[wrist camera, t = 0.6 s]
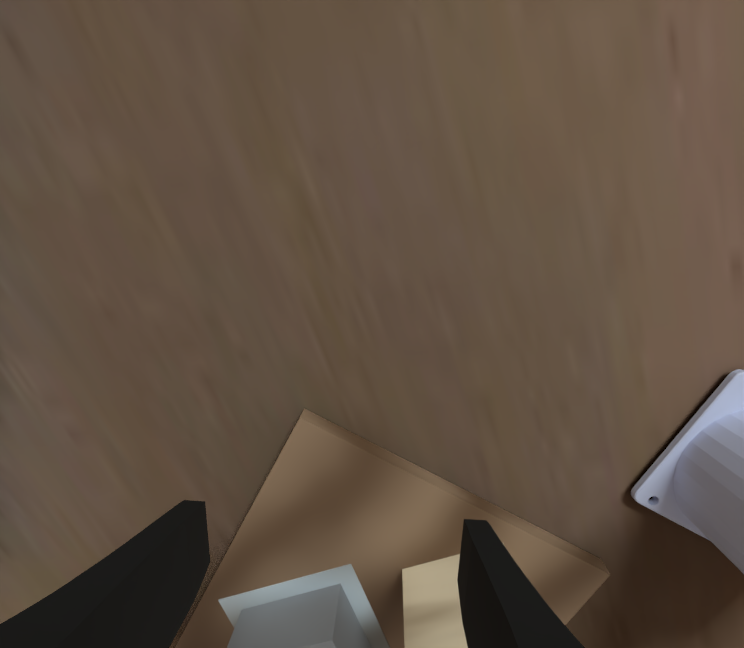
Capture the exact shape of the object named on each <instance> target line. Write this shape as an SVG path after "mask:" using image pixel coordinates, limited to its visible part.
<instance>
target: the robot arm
mask: <svg viewBox="0 0 744 648" xmlns="http://www.w3.org/2000/svg"><path fill="white" fill-rule="evenodd" d="M631 496H632V497H633V499H634V500H635V501H636V502H637V503H639V504H641V505H643V506H645V507H646V508H648V509H650V510H652V511H654V512H656V513H658V514H660V515H662V516H664V517H666V518H667V519H669V520H671V521H673V522H675V523H677V524H679V525H681V526H683V527H685V528H687V529H688V530H690V531H692V532H694V533H696V534H698V535H700V536H702V537H704V538H706V539H707V540H709V541H711V542H712V543H713V544H714V545H715V546H716V547H717V548H718V549H719V550H720V551H721V552H722V553H723V554H724V555H725V556H726V557H727V558H728V559H729V560H730V561H731V562H732V563H733V564H734V565H735V566H736V567H737V568H738V569H739V570H740V571H741V572H742V573H743V574H744V370H741V369H740V370H735V371H732V372H731V373H730V374H729V375H728V376H727V377H726V378H725V379H724V380H723V382H722V383H721V384H720V385H719V386H718V388H717V389H716V390H715V391H714V392H713V393H712V395H711V396H710V397H709V398H708V399H707V401H706V402H705V403H704V404H703V405H702V406H701V408H700V409H699V410H698V411H697V412H696V414H695V415H694V416H693V417H692V418H691V419H690V421H689V422H688V423H687V424H686V425H685V427H684V428H683V429H682V430H681V431H680V432H679V434H678V435H677V436H676V437H675V438H674V440H673V441H672V442H671V443H670V444H669V445H668V447H667V448H666V449H665V450H664V451H663V453H662V454H661V455H660V456H659V457H658V458H657V460H656V461H655V462H654V463H653V464H652V466H651V467H650V468H649V469H648V470H647V471H646V473H645V474H644V475H643V476H642V477H641V479H640V480H639V481H638V482H637V483H636V484H635V486H634V487H633V488H632V490H631ZM653 496H654V497H653ZM651 497H653V498H652V499H651V500H649V498H651ZM209 563H210V555H209V543H208V531H207V519H206V508H205V502H203V501H188V500H184V501H182V502H181V503H179V504H178V505H176V506H175V507H174V508H172V509H171V510H169V511H168V512H167V513H165V514H164V515H163V516H161V517H160V518H159V519H157V520H156V521H155V522H153V523H152V524H151V525H149V526H148V527H147V528H145V529H144V530H143V531H141V532H140V533H138V534H137V535H136V536H134V537H133V538H132V539H130V540H129V541H128V542H126V543H125V544H123V545H122V546H121V547H119V548H118V549H117V550H115V551H114V552H112V553H111V554H110V555H108V556H107V557H105V558H104V559H102V560H101V561H99V562H98V563H97V564H95V565H94V566H92V567H91V568H89V569H88V570H86V571H85V572H83V573H82V574H80V575H79V576H77V577H76V578H75V579H73V580H72V581H70V582H69V583H67V584H66V585H64V586H63V587H61V588H59V589H58V590H56V591H55V592H53V593H52V594H50V595H48V596H47V597H45V598H44V599H42V600H40V601H39V602H37V603H35V604H34V605H32V606H30V607H29V608H27V609H25V610H24V611H22V612H20V613H19V614H17V615H15V616H14V617H12V618H10V619H8V620H7V621H5V622H3V623H1V624H0V648H169V646H170V645H171V643H172V641H173V639H174V637H175V636H176V634H177V632H178V630H179V628H180V626H181V624H182V623H183V621H184V619H185V617H186V615H187V613H188V611H189V609H190V608H191V606H192V604H193V602H194V600H195V597H196V595H197V593H198V590H199V588H200V586H201V583H202V581H203V578H204V576H205V573H206V571H207V568H208V566H209ZM457 582H458V590H459V599H460V607H461V615H462V623H463V628H464V632H465V637H466V642H467V646H468V648H584V647H583V645H582V644H581V643H580V642H579V641H578V640H577V639H576V638H575V636H574V635H573V634H572V633H571V632H570V631H569V630H568V628H567V627H566V626H565V625H564V624H563V622H562V621H561V620H560V619H559V618H558V616H557V615H556V614H555V613H554V612H553V610H552V609H551V608H550V607H549V605H548V604H547V603H546V602H545V600H544V599H543V598H542V597H541V595H540V594H539V593H538V591H537V590H536V589H535V587H534V586H533V585H532V583H531V582H530V581H529V579H528V578H527V577H526V576H525V574H524V573H523V571H522V570H521V569H520V567H519V566H518V565H517V563H516V562H515V560H514V559H513V558H512V556H511V555H510V553H509V552H508V550H507V549H506V548H505V546H504V545H503V543H502V542H501V540H500V539H499V537H498V536H497V534H496V533H495V531H494V530H493V528H492V527H491V525H490V524H489V523H488V522H487V520H474V519H464V522H463V531H462V540H461V550H460V559H459V569H458V578H457Z"/></svg>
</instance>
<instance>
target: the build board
mask: <svg viewBox="0 0 744 648" xmlns="http://www.w3.org/2000/svg"><path fill="white" fill-rule="evenodd" d="M464 519H474V520H487V522H488V523H489V524H490V525H491V527H492V528H493V530H494V531H495V533H496V534H497V536H498V537H499V539H500V540H501V542H502V543H504V546H505V548H506V549H507V550H508V552H509V553H510V555H511V556H512V558H513V559H514V560H515V562H516V563H517V565H518V566H519V567H520V569H521V570H522V571H523V573H524V574H525V576H526V577H527V578H528V579H529V581H530V582H531V583H532V585H533V586H534V587H535V589H536V590H537V591H538V593H539V594H540V595H541V597H542V598H543V599H544V600H545V602H546V603H547V604H548V605H549V607H550V608H551V609H552V610H553V612H554V613H555V614H556V615H557V616H558V618H559V619H560V620H561V621H562V622H563V624H564V625H566V624H567V623H568V622H569V621H570V619H571V618H572V617H573V616H574V615H575V614H576V613H577V612H578V610H579V609H580V608H581V607H582V606H583V605H584V604H585V603H586V601H587V600H588V599H589V598H590V597H591V596H592V595H593V594H594V593H595V591H596V590H597V589H598V588H599V587H600V586H601V585H602V584H603V582H604V581H605V580H606V579H607V578H608V577H609V576H610V573H609V571H608V570H607V568H606V567H605V565H604V563H603V562H602V560H601V559H600V558H598V557H596V556H594V555H592V554H590V553H588V552H586V551H584V550H582V549H580V548H579V547H577V546H575V545H573V544H571V543H569V542H567V541H565V540H563V539H561V538H559V537H557V536H555V535H553V534H551V533H549V532H547V531H545V530H543V529H541V528H539V527H537V526H535V525H533V524H531V523H529V522H527V521H525V520H523V519H521V518H519V517H517V516H515V515H513V514H511V513H510V512H508V511H506V510H504V509H502V508H500V507H498V506H496V505H494V504H492V503H490V502H488V501H486V500H484V499H482V498H480V497H478V496H476V495H474V494H472V493H470V492H468V491H466V490H464V489H462V488H460V487H458V486H456V485H454V484H452V483H450V482H448V481H446V480H444V479H442V478H441V477H439V476H437V475H435V474H433V473H431V472H429V471H427V470H425V469H423V468H421V467H419V466H417V465H415V464H413V463H411V462H409V461H407V460H405V459H403V458H401V457H399V456H397V455H395V454H393V453H391V452H389V451H387V450H385V449H383V448H381V447H379V446H377V445H375V444H373V443H372V442H370V441H368V440H366V439H364V438H362V437H360V436H358V435H356V434H354V433H352V432H350V431H348V430H346V429H344V428H342V427H340V426H338V425H336V424H334V423H332V422H330V421H328V420H326V419H324V418H322V417H320V416H318V415H316V414H314V413H312V412H310V411H308V410H306V409H304V410H303V412H302V413H301V415H300V417H299V419H298V421H297V423H296V424H295V426H294V428H293V430H292V432H291V434H290V436H289V437H288V439H287V441H286V443H285V445H284V447H283V448H282V450H281V452H280V454H279V456H278V458H277V459H276V461H275V463H274V465H273V467H272V469H271V471H270V472H269V474H268V476H267V478H266V480H265V482H264V483H263V485H262V487H261V489H260V491H259V493H258V494H257V496H256V498H255V500H254V502H253V504H252V506H251V507H250V509H249V511H248V513H247V515H246V517H245V518H244V520H243V522H242V524H241V526H240V528H239V530H238V531H237V533H236V535H235V537H234V539H233V541H232V542H231V544H230V546H229V548H228V550H227V552H226V553H225V555H224V557H223V559H222V561H221V563H220V565H219V566H218V568H217V570H216V572H215V574H214V576H213V577H212V579H211V581H210V583H209V585H208V587H207V588H206V590H205V592H204V594H203V596H202V598H201V600H200V601H199V603H198V605H197V607H196V609H195V611H194V612H193V614H192V616H191V618H190V620H189V622H188V624H187V625H186V627H185V629H184V631H183V633H182V635H181V636H180V638H179V640H178V642H177V644H176V646H175V648H227V646H228V644H229V641H230V638H231V636H232V633H233V631H234V628H235V626H236V623H237V620H238V618H239V615H240V613H241V610H242V609H246V608H250V607H253V606H257V605H261V604H265V603H268V602H272V601H276V600H280V599H284V598H287V597H291V596H295V595H299V594H302V593H306V592H310V591H314V590H317V589H321V588H325V587H329V586H333V585H336V584H340V583H341V586H342V588H343V590H344V592H345V594H346V596H347V598H348V600H349V602H350V604H351V606H352V608H353V610H354V612H355V615H356V617H357V619H358V621H359V623H360V625H361V627H362V629H363V631H364V633H365V635H366V637H367V639H368V641H369V644H370V646H371V648H405V646H404V614H403V581H402V569H405V568H409V567H413V566H416V565H420V564H424V563H428V562H431V561H435V560H439V559H443V558H447V557H450V556H454V555H458V554H460V550H461V540H462V531H463V522H464Z"/></svg>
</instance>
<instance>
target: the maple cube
mask: <svg viewBox="0 0 744 648" xmlns="http://www.w3.org/2000/svg"><path fill="white" fill-rule="evenodd" d="M503 545H504V543H503ZM459 559H460V554H458V555H454V556H450V557H447V558H443V559H439V560H435V561H431V562H428V563H424V564H420V565H416V566H413V567H409V568H405V569H402V581H403V614H404V646H405V648H468V646H467V642H466V637H465V632H464V628H463V623H462V615H461V607H460V599H459V590H458V582H457V578H458V569H459Z"/></svg>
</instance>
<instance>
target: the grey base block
mask: <svg viewBox="0 0 744 648" xmlns="http://www.w3.org/2000/svg"><path fill="white" fill-rule="evenodd" d="M227 648H371V646H370V644H369V641H368V639H367V637H366V635H365V633H364V631H363V629H362V627H361V625H360V623H359V621H358V619H357V617H356V615H355V612H354V610H353V608H352V606H351V604H350V602H349V600H348V598H347V596H346V594H345V592H344V590H343V588H342V586H341V583H340V584H336V585H333V586H329V587H325V588H321V589H317V590H314V591H310V592H306V593H302V594H299V595H295V596H291V597H287V598H284V599H280V600H276V601H272V602H268V603H265V604H261V605H257V606H253V607H250V608H246V609H242V610H241V613H240V615H239V618H238V620H237V623H236V626H235V628H234V631H233V633H232V636H231V638H230V641H229V644H228V646H227Z"/></svg>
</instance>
